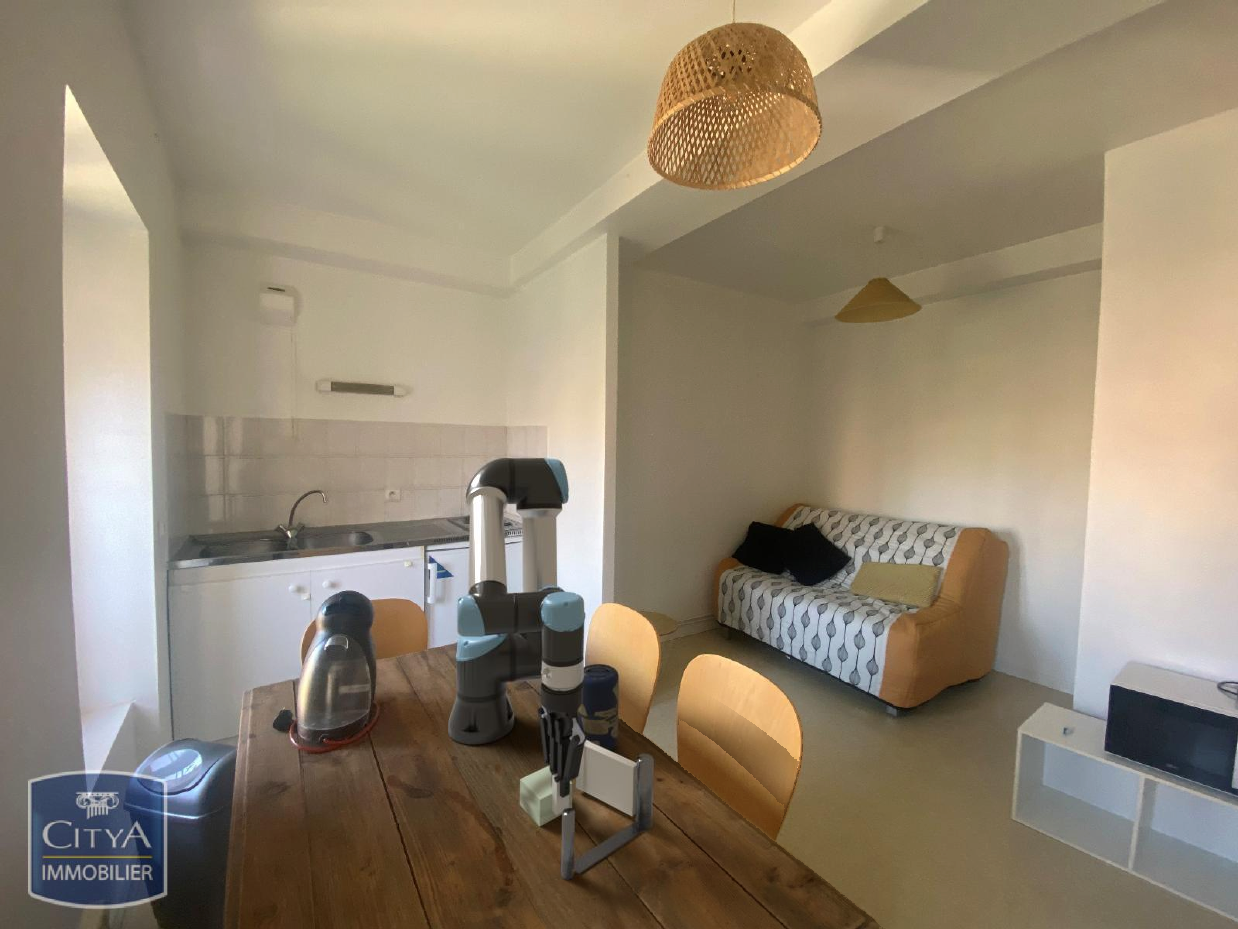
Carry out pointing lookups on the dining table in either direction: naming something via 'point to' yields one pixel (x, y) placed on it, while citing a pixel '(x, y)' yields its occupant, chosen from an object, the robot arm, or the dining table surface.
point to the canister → (600, 705)
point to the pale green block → (539, 796)
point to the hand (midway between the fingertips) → (560, 809)
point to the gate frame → (619, 839)
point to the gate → (608, 777)
